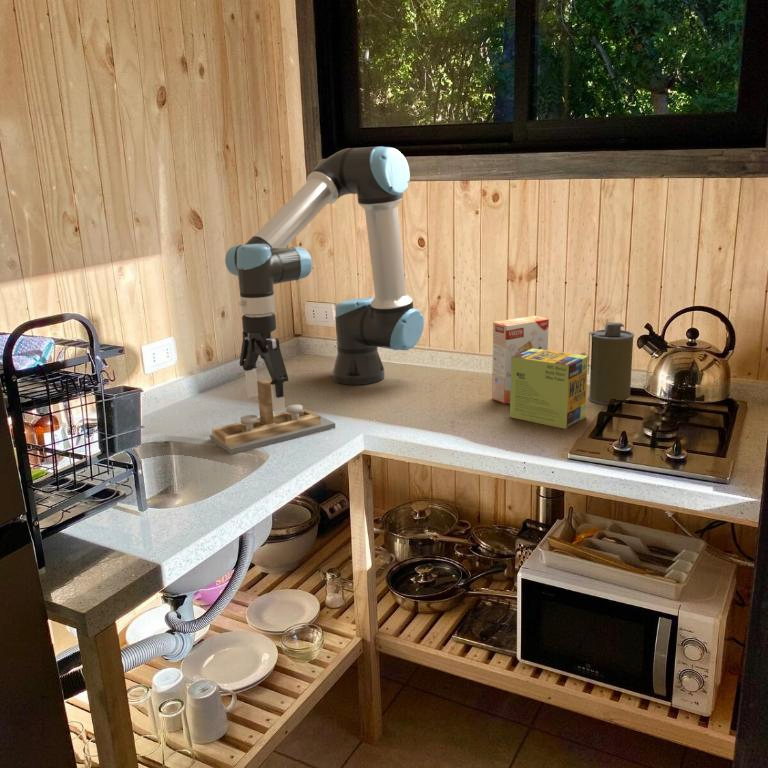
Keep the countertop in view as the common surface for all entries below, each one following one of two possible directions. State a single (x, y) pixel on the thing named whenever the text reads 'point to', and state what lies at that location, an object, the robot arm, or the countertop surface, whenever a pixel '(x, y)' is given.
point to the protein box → (548, 387)
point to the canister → (610, 364)
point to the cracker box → (514, 349)
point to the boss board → (251, 419)
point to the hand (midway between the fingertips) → (265, 403)
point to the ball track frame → (265, 421)
